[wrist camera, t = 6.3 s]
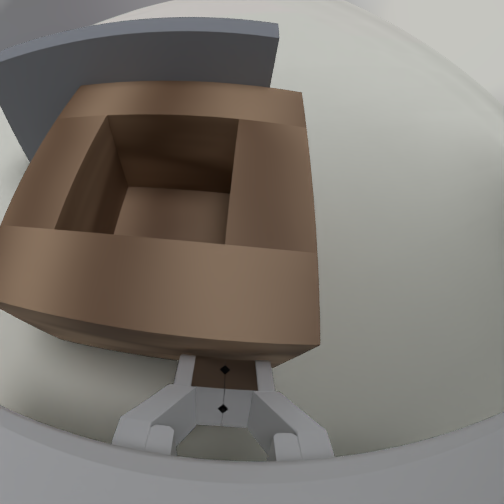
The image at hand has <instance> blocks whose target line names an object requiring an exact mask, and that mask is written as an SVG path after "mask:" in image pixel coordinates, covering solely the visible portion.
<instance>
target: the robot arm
mask: <svg viewBox="0 0 504 504" xmlns="http://www.w3.org/2000/svg"><path fill="white" fill-rule="evenodd" d="M221 424H222V426H227V427H241V428H247V429H248V431H249V432H250V433H251V434H252V436H253V437H254V438H255V439H256V441H257V442H258V443H259V444H260V446H261V447H262V448H263V449H264V451H265V452H266V453H267V454H268V457H267V461H228V460H212V459H200V458H190V457H181V456H177V452H176V446H177V445H178V444H179V443H180V442H181V441H182V440H183V439H184V438H185V437H186V436H187V435H188V434H189V433H190V432H191V431H192V430H193V428H194V427H195V426H196V425H211V426H221ZM0 504H504V412H501V413H499V414H497V415H495V416H492V417H490V418H487V419H485V420H482V421H480V422H477V423H475V424H472V425H469V426H466V427H464V428H461V429H458V430H455V431H452V432H449V433H446V434H442V435H439V436H436V437H432V438H429V439H425V440H421V441H418V442H414V443H410V444H406V445H401V446H397V447H392V448H387V449H382V450H377V451H372V452H366V453H360V454H353V455H346V456H339V457H335V456H334V452H333V449H332V446H331V443H330V439H329V436H328V433H327V430H326V429H324V428H323V427H322V426H321V425H319V424H318V423H317V422H316V421H314V420H313V419H312V418H311V417H310V416H308V415H307V414H306V413H305V412H303V411H302V410H301V409H300V408H299V407H297V406H296V405H295V404H294V403H293V402H291V401H290V400H289V399H288V398H287V397H286V396H284V395H283V394H282V393H281V392H276V391H275V385H274V380H273V374H272V368H271V363H270V361H269V360H255V361H254V360H236V359H224V358H214V357H205V356H197V355H196V356H195V355H187V354H181V356H180V358H179V363H178V367H177V371H176V375H175V380H174V384H168V385H167V386H165V387H164V388H163V389H161V390H160V391H158V392H157V393H155V394H154V395H152V396H151V397H150V398H148V399H147V400H145V401H144V402H142V403H141V404H139V405H138V406H136V407H135V408H133V409H132V410H130V411H129V412H127V413H126V414H124V415H123V416H121V417H120V420H119V423H118V426H117V428H116V431H115V434H114V437H113V440H112V443H111V444H110V443H106V442H102V441H98V440H94V439H90V438H87V437H83V436H80V435H77V434H73V433H70V432H67V431H64V430H61V429H58V428H55V427H52V426H49V425H47V424H44V423H41V422H39V421H36V420H34V419H31V418H29V417H26V416H24V415H21V414H19V413H17V412H14V411H12V410H10V409H8V408H5V407H3V406H1V405H0Z"/></svg>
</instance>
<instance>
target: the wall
mask: <svg viewBox="0 0 504 504" xmlns="http://www.w3.org/2000/svg"><path fill="white" fill-rule="evenodd" d="M278 42H279V28H278V24H277V23H270V22H262V21H253V20H243V19H230V18H209V17H172V18H152V19H139V20H129V21H120V22H113V23H106V24H99V25H93V26H88V27H83V28H78V29H73V30H68V31H64V32H60V33H56V34H52V35H48V36H44V37H41V38H37V39H34V40H31V41H28V42H24V43H21V44H18V45H15V46H12V47H10V48H7V49H4V50H3V51H2V52H0V106H1V108H2V110H3V112H4V114H5V116H6V118H7V120H8V122H9V124H10V126H11V128H12V130H13V132H14V134H15V136H16V138H17V140H18V142H19V144H20V145H21V147H22V149H23V151H24V153H25V154H26V156H27V158H28V160H29V161H30V162H31V160H32V159H33V157H34V155H35V153H36V152H37V150H38V148H39V146H40V145H41V143H42V141H43V140H44V138H45V136H46V135H47V133H48V132H49V130H50V129H51V127H52V125H53V124H54V122H55V121H56V119H57V118H58V116H59V115H60V113H61V112H62V111H63V109H64V108H65V106H66V105H67V103H68V102H69V101H70V99H71V98H72V97H73V95H74V94H75V92H76V91H77V90H78V89H79V87H80V86H82V85H91V84H101V83H114V82H131V81H201V82H219V83H232V84H243V85H252V86H261V87H269V88H270V83H271V78H272V73H273V68H274V63H275V57H276V52H277V47H278Z"/></svg>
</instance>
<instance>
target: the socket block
mask: <svg viewBox="0 0 504 504" xmlns="http://www.w3.org/2000/svg"><path fill="white" fill-rule="evenodd" d="M0 309H2V310H4V311H5V312H7V313H9V314H11V315H13V316H15V317H16V318H18V319H20V320H22V321H24V322H26V323H28V324H30V325H32V326H34V327H36V328H38V329H40V330H42V331H44V332H46V333H48V334H51V335H53V336H55V337H57V338H59V339H62V340H66V341H70V342H75V343H79V344H84V345H88V346H93V347H98V348H103V349H108V350H114V351H119V352H125V353H131V354H137V355H143V356H150V357H157V358H164V359H172V360H179V358H180V356H181V354H187V355H195V356H196V355H197V356H205V357H214V358H224V359H236V360H254V361H255V360H269V361H270V363H271V368H273V367H276V366H278V365H280V364H282V363H284V362H286V361H288V360H291V359H293V358H295V357H297V356H299V355H301V354H303V353H305V352H307V351H309V350H311V349H313V348H315V347H317V346H319V345H320V307H319V278H318V257H317V239H316V224H315V210H314V198H313V186H312V176H311V165H310V156H309V147H308V138H307V129H306V121H305V113H304V106H303V99H302V93H301V92H295V91H289V90H283V89H276V88H269V87H261V86H252V85H243V84H232V83H219V82H201V81H131V82H114V83H101V84H91V85H82V86H80V87H79V89H78V90H77V91H76V92H75V94H74V95H73V97H72V98H71V99H70V101H69V102H68V103H67V105H66V106H65V108H64V109H63V111H62V112H61V113H60V115H59V116H58V118H57V119H56V121H55V122H54V124H53V125H52V127H51V129H50V130H49V132H48V133H47V135H46V136H45V138H44V140H43V141H42V143H41V145H40V146H39V148H38V150H37V152H36V153H35V155H34V157H33V159H32V160H31V162H30V164H29V166H28V168H27V170H26V171H25V173H24V175H23V177H22V179H21V181H20V183H19V185H18V187H17V189H16V191H15V193H14V196H13V198H12V200H11V202H10V204H9V207H8V209H7V211H6V213H5V216H4V218H3V221H2V223H1V225H0Z"/></svg>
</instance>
